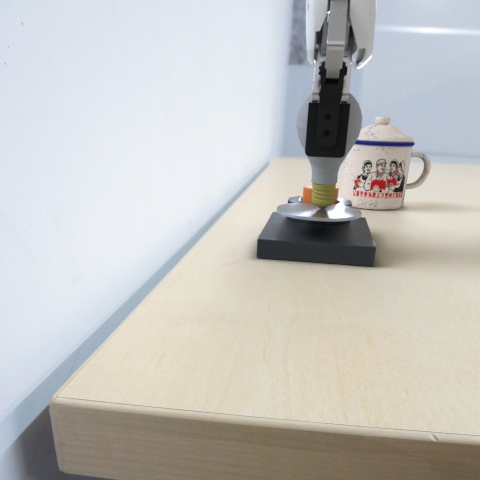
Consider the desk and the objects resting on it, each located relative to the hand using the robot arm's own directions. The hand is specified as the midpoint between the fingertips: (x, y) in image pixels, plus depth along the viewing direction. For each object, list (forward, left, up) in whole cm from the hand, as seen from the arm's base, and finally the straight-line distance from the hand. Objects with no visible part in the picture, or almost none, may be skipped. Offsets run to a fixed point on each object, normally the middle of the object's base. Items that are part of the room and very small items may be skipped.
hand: (324, 151), depth 43 cm
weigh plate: (0, 0, -5) cm, 5 cm away
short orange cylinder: (-3, -6, -6) cm, 9 cm away
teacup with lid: (-21, -21, -9) cm, 31 cm away
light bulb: (0, 0, -5) cm, 5 cm away
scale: (-1, -2, -9) cm, 9 cm away
